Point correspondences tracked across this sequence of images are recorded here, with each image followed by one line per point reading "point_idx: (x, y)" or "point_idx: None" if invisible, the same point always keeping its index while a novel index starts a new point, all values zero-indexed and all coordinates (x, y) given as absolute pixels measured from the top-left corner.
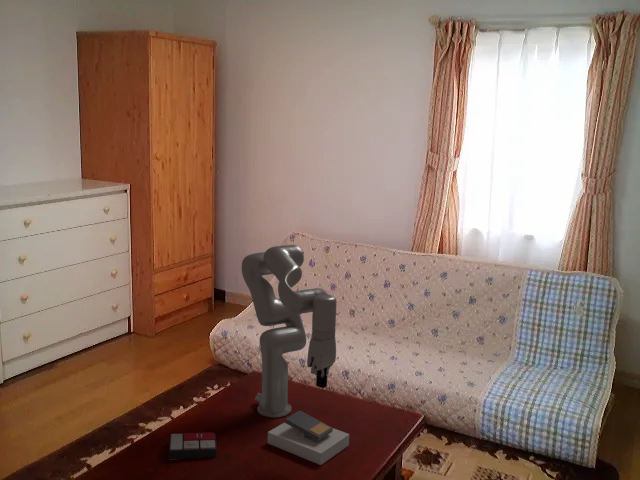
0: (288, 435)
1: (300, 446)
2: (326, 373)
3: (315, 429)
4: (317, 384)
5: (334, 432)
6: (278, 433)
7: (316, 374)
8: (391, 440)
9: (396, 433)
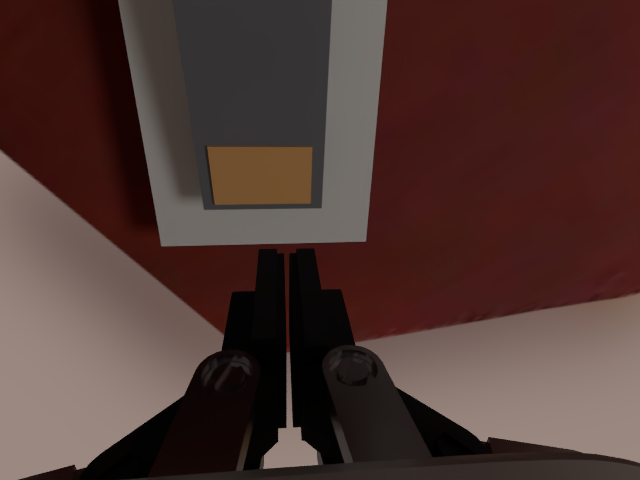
0: (166, 19)
1: (144, 137)
2: (319, 462)
3: (236, 167)
4: (233, 295)
5: (342, 188)
6: None
7: (178, 406)
8: (462, 302)
9: (513, 291)
